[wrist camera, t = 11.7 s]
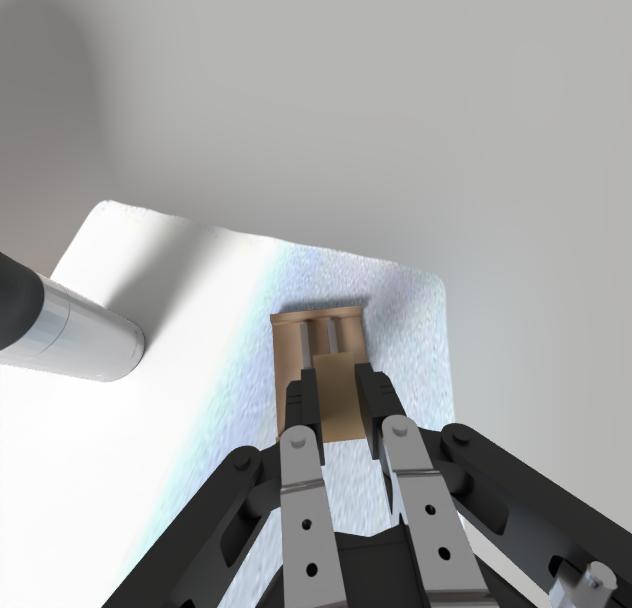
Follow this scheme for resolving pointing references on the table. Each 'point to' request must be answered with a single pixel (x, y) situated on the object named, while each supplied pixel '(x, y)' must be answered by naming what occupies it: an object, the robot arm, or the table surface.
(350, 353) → the oak slat
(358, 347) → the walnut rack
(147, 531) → the table surface
